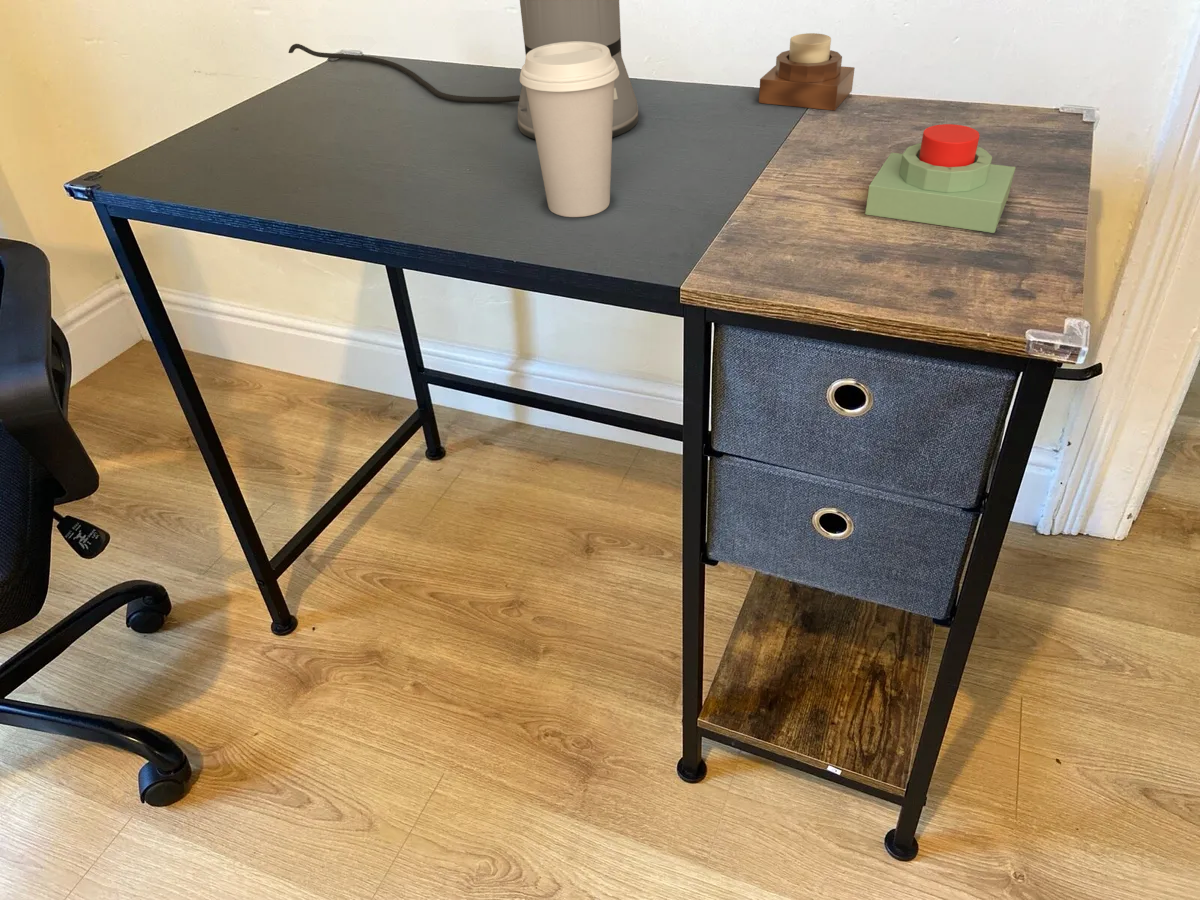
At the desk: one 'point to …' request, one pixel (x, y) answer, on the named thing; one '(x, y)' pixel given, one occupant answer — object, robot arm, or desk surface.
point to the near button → (949, 145)
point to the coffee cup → (572, 123)
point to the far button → (809, 48)
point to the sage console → (941, 191)
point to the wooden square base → (807, 83)
